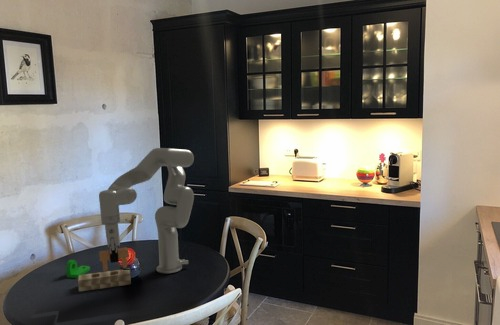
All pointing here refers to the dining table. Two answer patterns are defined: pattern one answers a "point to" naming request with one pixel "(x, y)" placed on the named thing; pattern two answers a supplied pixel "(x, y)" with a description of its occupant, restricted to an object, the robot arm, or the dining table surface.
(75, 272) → the mechanical part
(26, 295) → the dining table surface
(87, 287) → the rail
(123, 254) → the brown piece
